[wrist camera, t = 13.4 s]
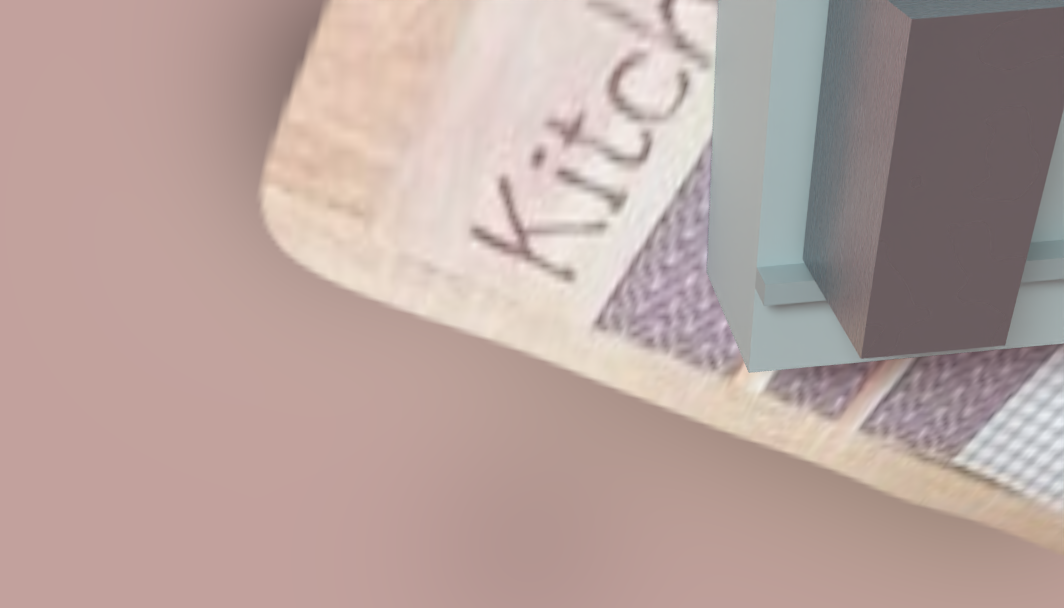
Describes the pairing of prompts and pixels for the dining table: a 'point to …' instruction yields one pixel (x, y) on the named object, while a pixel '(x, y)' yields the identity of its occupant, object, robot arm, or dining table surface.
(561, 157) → the dining table surface
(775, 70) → the block
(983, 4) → the bar
